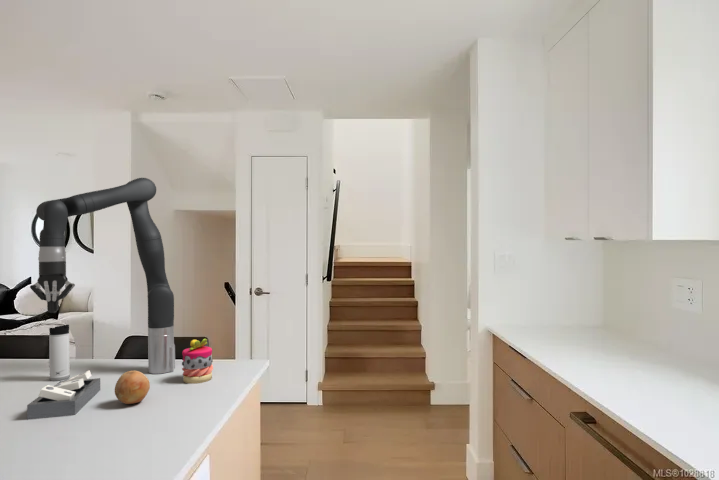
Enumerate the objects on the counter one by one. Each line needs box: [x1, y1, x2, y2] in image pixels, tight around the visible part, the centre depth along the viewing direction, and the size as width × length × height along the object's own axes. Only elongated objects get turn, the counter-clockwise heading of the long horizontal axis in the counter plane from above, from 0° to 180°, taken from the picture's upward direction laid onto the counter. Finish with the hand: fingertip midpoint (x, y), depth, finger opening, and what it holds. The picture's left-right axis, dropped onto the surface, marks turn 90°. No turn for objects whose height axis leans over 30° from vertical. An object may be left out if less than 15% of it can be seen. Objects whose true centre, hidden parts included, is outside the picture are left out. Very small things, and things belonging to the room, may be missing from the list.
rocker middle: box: [53, 378, 84, 391], centre depth 142 cm, size 8×4×2 cm, turn 104°
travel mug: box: [48, 324, 71, 382], centre depth 170 cm, size 6×7×20 cm
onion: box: [114, 370, 151, 405], centre depth 141 cm, size 10×10×10 cm
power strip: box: [26, 377, 101, 420], centre depth 146 cm, size 12×33×4 cm, turn 14°
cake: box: [181, 338, 214, 385], centre depth 166 cm, size 10×11×15 cm
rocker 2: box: [61, 369, 93, 383], centre depth 150 cm, size 8×4×2 cm, turn 105°
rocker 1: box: [38, 384, 76, 401], centre depth 135 cm, size 8×4×2 cm, turn 104°
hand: (52, 312), depth 152 cm, fingers closed
